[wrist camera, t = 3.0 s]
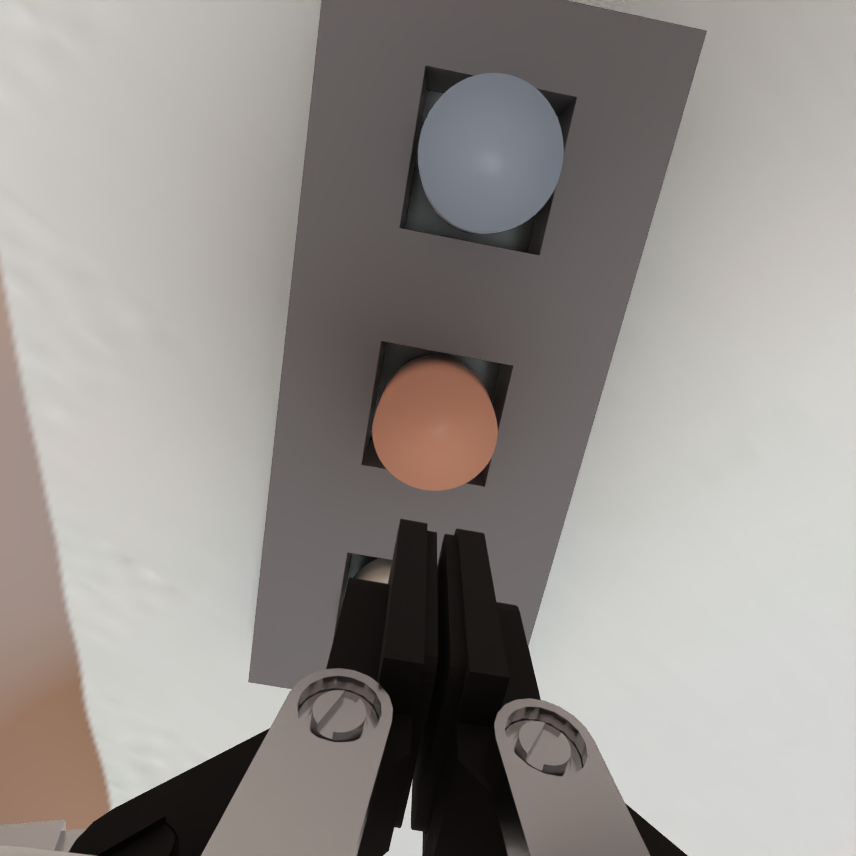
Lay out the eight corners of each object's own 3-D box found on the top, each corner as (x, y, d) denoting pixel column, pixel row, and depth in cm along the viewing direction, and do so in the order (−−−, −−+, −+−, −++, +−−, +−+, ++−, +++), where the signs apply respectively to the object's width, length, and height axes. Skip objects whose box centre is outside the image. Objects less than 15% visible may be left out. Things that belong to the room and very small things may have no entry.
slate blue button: (559, 112, 19) (580, 89, 17) (528, 244, 21) (543, 245, 18) (433, 85, 19) (432, 58, 16) (410, 221, 21) (406, 218, 18)
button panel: (669, 60, 21) (706, 31, 18) (499, 676, 29) (505, 723, 26) (342, -10, 20) (327, -52, 17) (267, 638, 29) (248, 682, 26)
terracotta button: (501, 366, 22) (510, 384, 19) (477, 469, 24) (483, 500, 21) (390, 345, 22) (383, 361, 19) (372, 450, 23) (363, 479, 21)
